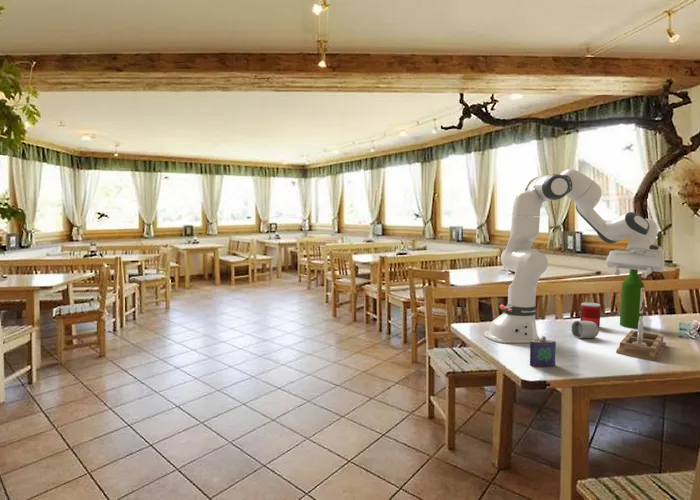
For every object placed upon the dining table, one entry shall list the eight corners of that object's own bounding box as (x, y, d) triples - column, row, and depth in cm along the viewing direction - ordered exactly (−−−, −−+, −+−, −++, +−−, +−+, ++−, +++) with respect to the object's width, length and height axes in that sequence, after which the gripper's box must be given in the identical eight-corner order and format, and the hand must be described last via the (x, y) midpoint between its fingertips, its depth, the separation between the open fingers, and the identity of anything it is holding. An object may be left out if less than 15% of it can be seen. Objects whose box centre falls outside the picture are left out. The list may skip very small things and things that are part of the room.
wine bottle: (641, 329, 192) (645, 260, 189) (618, 326, 197) (622, 258, 194) (642, 325, 199) (646, 258, 196) (620, 322, 204) (623, 257, 201)
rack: (657, 360, 151) (658, 349, 150) (616, 352, 159) (616, 342, 159) (666, 345, 168) (666, 335, 168) (628, 339, 177) (628, 329, 177)
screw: (641, 351, 157) (628, 347, 161) (649, 350, 158) (637, 346, 163) (643, 318, 156) (630, 315, 160) (651, 317, 157) (639, 314, 162)
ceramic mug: (599, 339, 176) (600, 322, 176) (582, 340, 175) (583, 322, 174) (582, 333, 187) (582, 316, 186) (566, 334, 185) (566, 317, 185)
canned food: (603, 328, 193) (604, 305, 192) (585, 328, 193) (586, 305, 192) (593, 324, 201) (594, 302, 200) (577, 324, 201) (578, 302, 200)
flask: (552, 363, 148) (553, 334, 147) (557, 366, 145) (558, 337, 145) (528, 364, 148) (529, 335, 147) (532, 367, 145) (533, 337, 144)
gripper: (609, 244, 181) (600, 267, 176) (666, 247, 166) (658, 273, 160) (612, 254, 185) (603, 277, 179) (668, 258, 169) (660, 283, 164)
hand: (629, 275), depth 170 cm, fingers open, 8 cm apart
